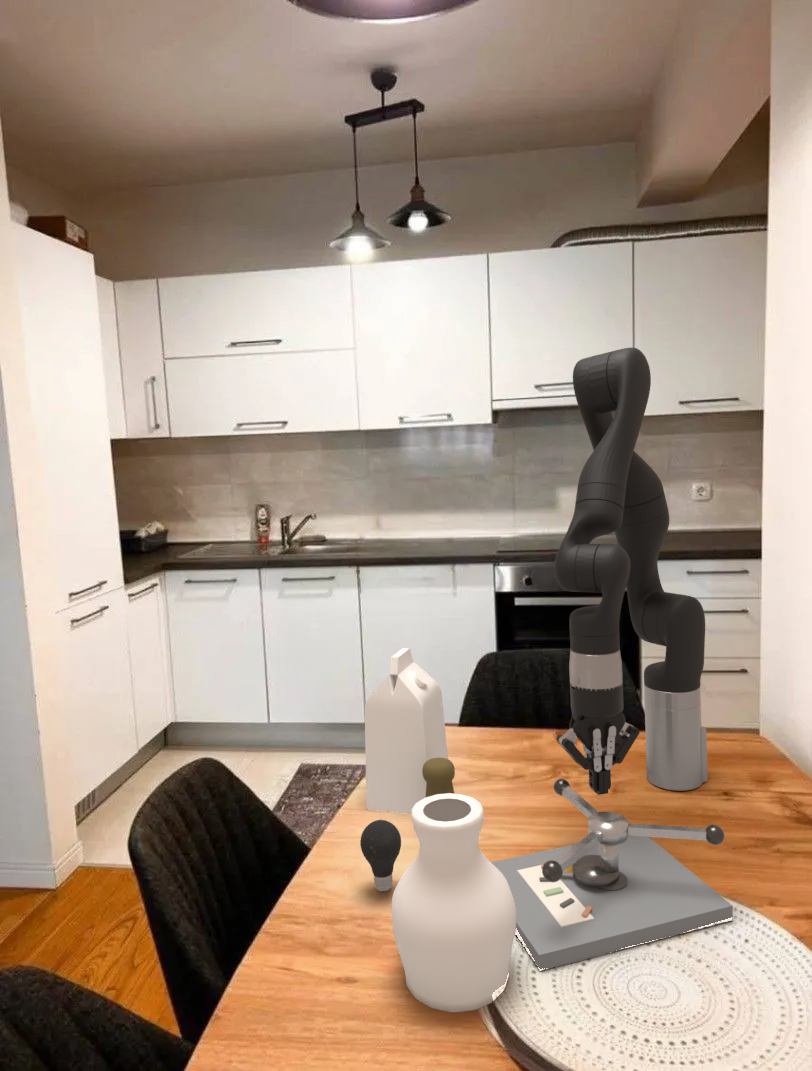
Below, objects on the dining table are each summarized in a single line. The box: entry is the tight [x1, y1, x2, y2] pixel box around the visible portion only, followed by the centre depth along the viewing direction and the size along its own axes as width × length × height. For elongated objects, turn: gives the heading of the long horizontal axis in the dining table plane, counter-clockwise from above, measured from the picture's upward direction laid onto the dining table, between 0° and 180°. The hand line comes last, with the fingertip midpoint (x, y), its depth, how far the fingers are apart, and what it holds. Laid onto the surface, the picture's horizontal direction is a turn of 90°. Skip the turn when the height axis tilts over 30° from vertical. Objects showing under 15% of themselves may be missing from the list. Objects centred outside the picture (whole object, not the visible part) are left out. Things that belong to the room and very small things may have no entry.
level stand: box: [490, 835, 734, 969], centre depth 98 cm, size 26×20×2 cm
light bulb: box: [359, 819, 402, 894], centre depth 103 cm, size 6×6×10 cm
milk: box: [364, 647, 449, 815], centre depth 129 cm, size 12×12×26 cm
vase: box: [391, 793, 517, 1013], centre depth 85 cm, size 14×14×20 cm
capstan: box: [542, 778, 726, 887], centre depth 97 cm, size 23×25×8 cm
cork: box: [422, 758, 456, 798], centre depth 119 cm, size 6×6×11 cm
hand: (600, 792), depth 111 cm, fingers closed
